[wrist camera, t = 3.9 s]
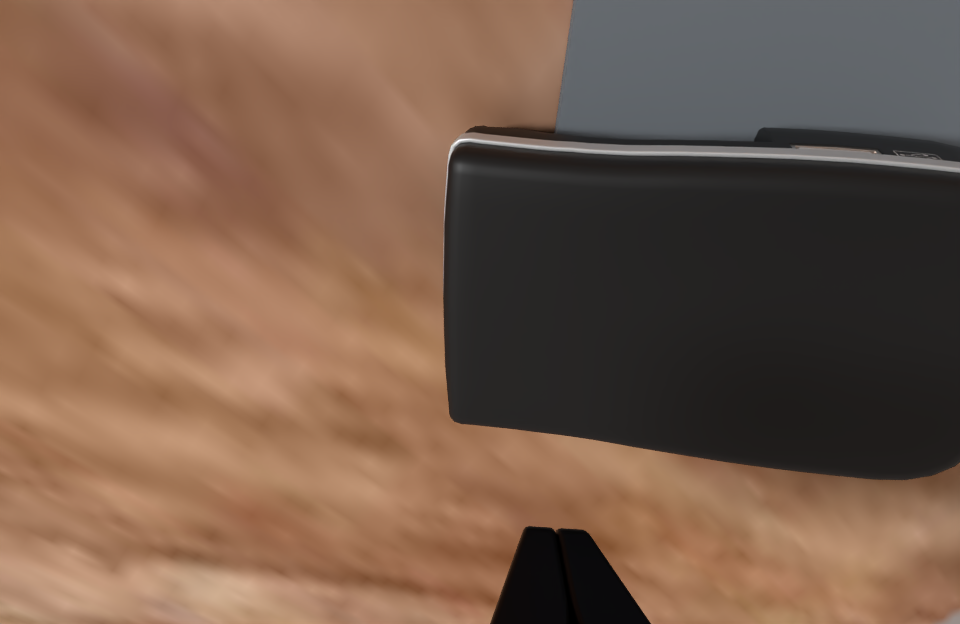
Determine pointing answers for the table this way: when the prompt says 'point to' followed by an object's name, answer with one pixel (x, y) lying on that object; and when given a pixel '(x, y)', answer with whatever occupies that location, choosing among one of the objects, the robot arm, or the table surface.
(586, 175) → the battery charger
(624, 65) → the gray mat
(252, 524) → the table surface
